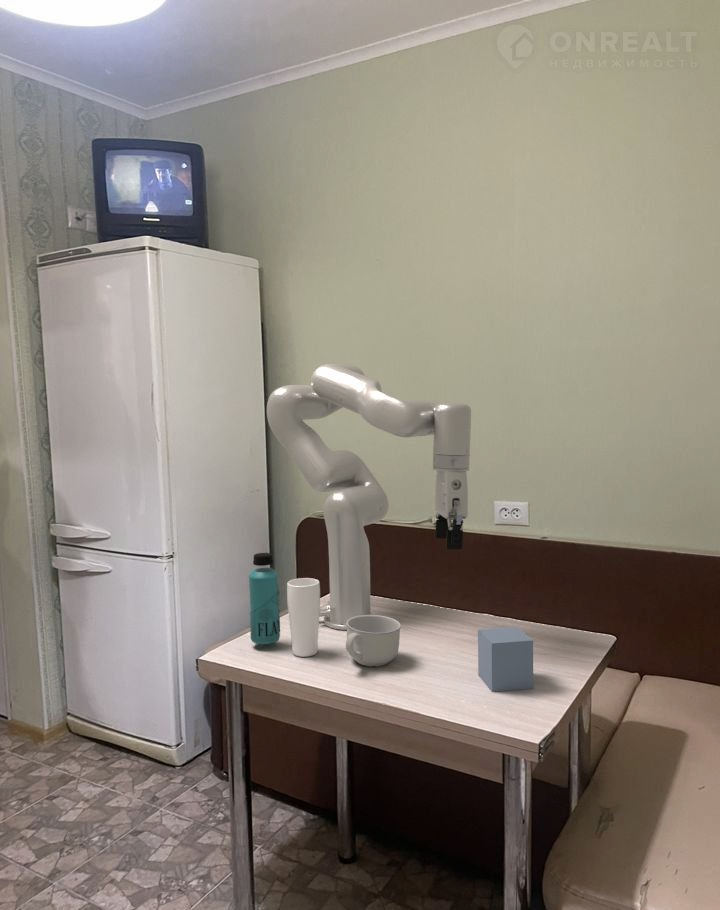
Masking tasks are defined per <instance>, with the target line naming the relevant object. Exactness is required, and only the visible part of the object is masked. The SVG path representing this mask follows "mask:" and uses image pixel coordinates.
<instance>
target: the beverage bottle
mask: <svg viewBox="0 0 720 910" xmlns="http://www.w3.org/2000/svg"><path fill="white" fill-rule="evenodd" d="M273 563H274V560H273V554H272V553H271V552H259V553H254V554H253V560H252V564H253V565H254V566H256V567H257V566H258V568H255V569H253V570H252V571H251V572H250V573H249V574H248V582H249V584H248V585H249V588H248V589H249V608H250V610H249V619H250V620H249V621H250V622H249V623H250V624H249V625H250V631H249V632H250V640H251V642H252V643H254V644H258V645H269V644H274V643H275V642H276V643H277V642H278V641H279V640H280V638H281V620H280V619H281V614H280V612H281V611H280V606H281V605H280V589H279V574H278V572H277V571H276V569H274V568H272V567H265V566H270V565H273Z"/></svg>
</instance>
